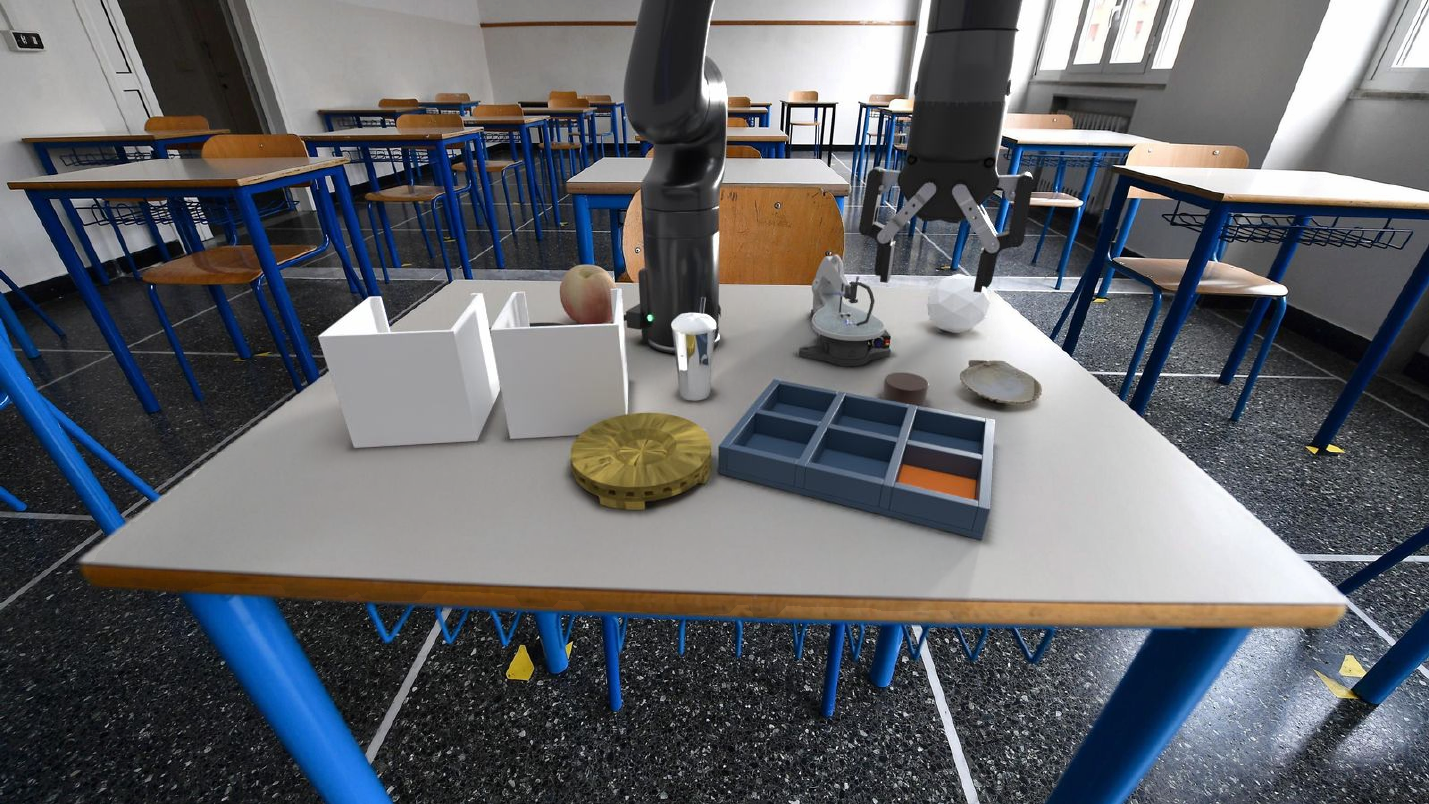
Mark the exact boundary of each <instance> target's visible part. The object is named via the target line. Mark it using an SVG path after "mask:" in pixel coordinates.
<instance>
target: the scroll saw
mask: <svg viewBox="0 0 1429 804" xmlns="http://www.w3.org/2000/svg"><path fill="white" fill-rule="evenodd" d="M844 272H845V271H844V264H843V261H842V258H841V257H840V255H839V254H833V255H830V256H828V255H827V256H824V257H823V258H822V260H821V262H820V263H819V266H818V268H817V271H816V275H815V278H814V279H813V281H812V284H811V291H812V294H813V295H812V309H810V317H811V327H812V329H813V330H814V332H815V333H817V343H818V344H814V345H809V346H808V345H806V346H802V347H801V346H800V347H799V348H798V356H799V357H800V358H805V359H813V360H819V361H825V362H828V363H830V364H833V365H836V366H841V367H859V366H864V365H865V364H866V363H868V362H869V361H872V360H876V359H881V358H882V359H883V358H887V357H889V356H891V354H892V353H891V352H892V349H891V348H890V346H891V338H892V336H891V335H890V333H889V332H888V330H887V329H886V326H885V322H883V320H881V319H880V318H879V317H877V316H875V315H874V314H872V313H873V310H874V306H875V297H874V293H873V290H872V289H871V287H870V285H867V284H865V283H863V282H861V281H859V280H860V278H861V277H860V276H859V275H857V276H855V281H851V279H847V278H846V275H845V273H844ZM858 286H859V287H861V288H863V289H865V290H866V291H867V293H868V296H869V299H870V304H869V307H868V311H867V312H866V311H864V310H861V309H859V308H856V307H853V306H852V305H848V304H846V303H845V302H844V301H843V298H844V299H845V300H848V303H850V304H858V302H859V299H858V298H857V295H858Z"/></svg>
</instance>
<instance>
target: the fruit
mask: <svg viewBox="0 0 1429 804" xmlns="http://www.w3.org/2000/svg"><path fill="white" fill-rule="evenodd" d="M611 289H618V287H617V285H616V283H615V281H614V279H613V278H612V276H611V274H610V273H608V272H607V270H605V269H604V268H602V267H601V266H598V265H594V264H579V265H575V266H573V267H571V268H570V269H569V270H568V271H567V272H566V273H565V275H564V276H563V278H562V280H561V282H560V285H559V299H560V303H561V306H562V309H563V311H564V312H565V313H566V315H567V316H568V317H569V318H570V319H571V320H573V322H575V323H577V325H591V324H606V323H607V322H609V321H610V320H611V319H613V315H612V303H611Z"/></svg>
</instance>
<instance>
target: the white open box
mask: <svg viewBox="0 0 1429 804" xmlns="http://www.w3.org/2000/svg"><path fill="white" fill-rule="evenodd" d="M470 300H471V302H470V304H469V305H468V306H467V308H466V309H465V310H464V311H463V313H462V314H461V315H460V317H459V318H458V319H457V321H456V322H455V323H454V324H453V326H452V327H451V328H450V329H440V330H413V331H412V330H411V331H391V328H390V324H389V321H388V317H387V313H386V309H385V306H384V302H383V298H382V296H368V297H367V298H366V299H365V300H363V301H362V302H361V303H359V304H357V306H355V307H354V308H353V309H351V310H350V311H349V312H348V313H346V314H345V315H344V316H342V317H341V318H339V319H338V320H337V321H336V322H335V323H333V324H332V325H330V326H329V327H328V328H327V329H326V330H324V331H323V332H321V333H320V334H319V335H317V338H318V341H319V344H320V348H321V350H322V354H323V356H324V360H325V363H326V366H327V369H328V372H329V376H330V379H331V382H332V385H333V388H334V391H335V394H336V397H337V399H338V402H339V406H340V409H341V412H342V416H343V418H344V421H345V424H346V427H347V430H348V434H349V436H350V439H351V443H352V446H353V448H354V449H358V448H359V449H360V448H375V447H376V448H377V447H378V448H379V447H395V446H396V447H397V446H412V445H413V446H415V445H429V444H446V443H448V444H449V443H465V442H466V443H467V442H477V441H478V440H479V438H480V436H481V433H482V432H483V429H484V426H485V425H486V423H487V420H488V419H489V418H488V417H489V415H490V413H491V412H492V409H493V407H494V405H495V403H496V401H497V398H498V395H499V394H500V391H501V395H502V396H501V397H502V401H503V408H504V412H505V417H506V423H507V428H508V434H509V439H510V440H517V439H535V438H536V439H537V438H552V437H570V436H579V435H580V434H581V433H583V432H584V431H585V430H587V429H588V428H589V427H591V426H593V425H595V424H597V423H599V422H601V421H604V420H607V419H610V418H613V417H617V416H621V415H627V414H629V411H628V410H629V408H628V407H629V373H628V372H629V371H628V359H627V345H626V331H625V321H624V317H623V315H624V304H623V292H622V288H617V289H611V303H612V315H613V317H612V322H613V324H611V323H604V324H591V325H580V324H569V325H568V324H564V325H565V326H539V327H530V325H529V323H530V318H529V311H528V305H527V299H526V292H525V291H513V292H512V293H511V295H510V297H509V298H508V300H507V302H506V303H505V305H504V306H503V307H502V310H501V312H500V313H499V315H498V317H497V318H496V319H495V321H494V323H493V324H492V326H491V327H492V328H491V327H490V326H489V319H488V315H487V309H486V305H485V298H484V293H483V292H473V293H470ZM489 328H491V330H489ZM490 331H491V333H490Z"/></svg>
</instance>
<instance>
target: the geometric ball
mask: <svg viewBox="0 0 1429 804" xmlns="http://www.w3.org/2000/svg"><path fill="white" fill-rule="evenodd" d="M975 280H976V277H972V276H968V275H965V274H961V273H956V274H953V275H949V276H945V277H943V278H942V279H941V280H939V281H938V282H937V283H936V284H935V285H934V286H933V287H932V288H931V289H930V291H929V296H928V298H927V303H926V308H927V312H928V316H929V320H930V321H931V322H932V323H933V324H935V325H936V326H937V327H938V328H939V329H940V330H942V331H946V332H950V333H953V334H956V335H957V334H960V333H964V332H966V331H971V330H973V329H974V328H975V327H976V326H978V325H979V324H980V323H981V322H982V321H984V320H985V319H986V316H987V313H988V310H989V308H990V307H989V306H990V304H991V302H990V297H989V293H988V290H987V287H983V286H982V291H981V293H980V292H973V291H974V285H975Z"/></svg>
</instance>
